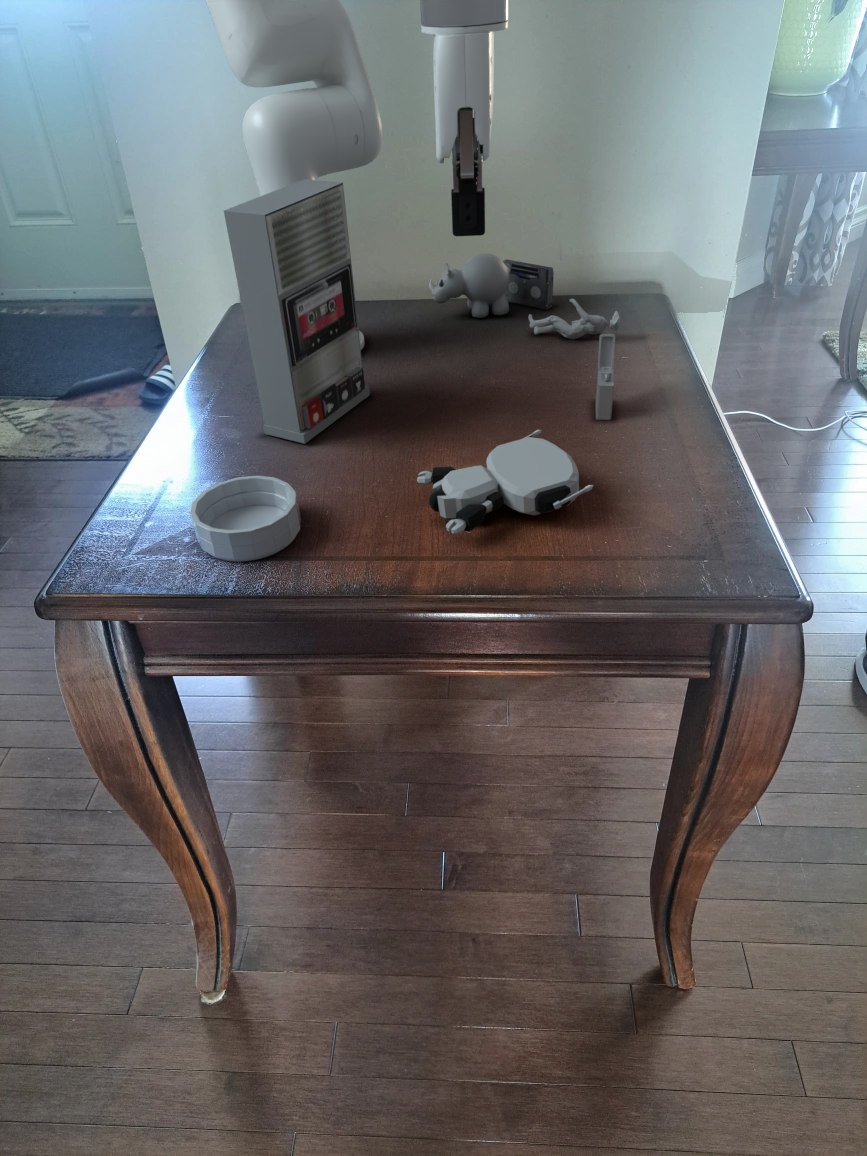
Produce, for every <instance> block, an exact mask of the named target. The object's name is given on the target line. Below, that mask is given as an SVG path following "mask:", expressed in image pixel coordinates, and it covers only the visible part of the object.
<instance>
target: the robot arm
mask: <svg viewBox="0 0 867 1156" xmlns="http://www.w3.org/2000/svg"><path fill="white" fill-rule="evenodd" d="M205 3H206V6H207V9H208V12H209V15H210V18H211V19H212V23H213V25H214V28H215V31H216V34H217V36H218V39H219V42H220V44H221V47H222V50H223V53H224V55H225V58H226V60H227V62H228V65H229V67H230V70H231V71H232V73H233V75H234V76H235V78H236V79H237V80H238V81H239V83H241V84H243V85H244V86H247V87H248V88H249V87H250V88H270V87H271V88H272V87H278V86H286V85H293V84H300V83H307V82H313V83H314V84H315V86H316V87H311V88H308V87H306V88H301V89H293V90H288V91H282V92H275V93H272V94H269V95H266V96H263V97H261V98H259V99H258V100H256V101H254V102H253V103H252V104H251V105H250V106H249V107H248V109H247V110H246V111H245V114H244V116H243V120H242V125H241V126H242V127H241V130H242V131H241V132H242V138H243V139H242V140H243V143H244V147H245V151H246V154H247V158H248V160H249V163H250V166H251V170H252V173H253V175H254V178H255V183H256V185H257V189H258V193H259V197H260V196H263V195H265V194H268V193H270V192H273V191H276V190H278V189H281V188H283V187H286V186H289V185H291V184H294V183H296V182H299V181H302V180H304V179H305V180H317V181H319V180H318V179H319V178H321V177H323V176H327V175H330V174H334V173H335V174H336V173H340V172H344V171H349V170H354V169H358V168H362V167H365V166H367V165H369V164H371V163H372V162H373V161H375V160H376V159H377V157H378V156H379V154H380V152H381V149H382V146H383V141H384V139H383V138H384V137H383V136H384V135H383V134H384V133H383V132H384V131H383V122H382V118H381V112H380V109H379V105H378V102H377V99H376V96H375V92H374V89H373V86H372V83H371V80H370V76H369V73H368V70H367V67H366V64H365V61H364V58H363V54H362V52H361V47H360V45H359V42H358V39H357V36H356V32H355V30H354V27H353V24H352V21H351V19H350V16H349V14H348V12H347V10H346V8H345V7H344V5H343V4H342V3H341V1H340V0H205ZM419 7H420V8H419V9H420V32H421V33H422V34H425V35H433V55H432V56H433V57H432V58H433V59H432V60H433V61H432V62H433V63H432V64H433V100H434V124H435V125H434V126H435V128H434V129H435V157H436V158H435V159H436V161H437V162H439V164H444V162H445V159H450V157H451V158H452V159H451V164H452V186H453V188H451V192H450V194H451V196H450V197H451V199H450V200H451V227H452V228H451V229H452V230H451V231H452V235H453V236H454V237H476V236H477V237H478V236H484V235H485V233H486V192H485V189H486V188H485V187H483V162H485V161H487V160H488V159H489V157H490V153H491V151H490V150H491V144H492V143H491V142H492V131H493V130H492V129H493V117H494V116H493V115H494V92H495V91H494V90H495V89H494V87H495V32H499V31H505V30H508V29H509V0H419ZM359 339H360V349H361V351H362V350H363V349H364V347H365V335H364V333H363V332H362V331H361V330H359Z"/></svg>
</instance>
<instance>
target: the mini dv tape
mask: <svg viewBox="0 0 867 1156" xmlns="http://www.w3.org/2000/svg"><path fill="white" fill-rule="evenodd" d="M502 261H503V262H504V264H505V265H506V266H507V267H508V269H509V271H510V273H509V284H508V288H507V290H506V292H505V296H506V299H507V301H508V303H513V304H517V305H522V306H526V307H530V308H536V309H541V310H545V311H546V310H548V309H551V308H552V307H553V302H554V301H553V300H554V299H553V298H554V274H555V273H554V272H555V271H554V267H553V266H545V265H540V264H534V263H528V262H524V261H519V260H513V259H507V258H506V259H504V260H502Z"/></svg>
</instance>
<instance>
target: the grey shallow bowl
mask: <svg viewBox="0 0 867 1156" xmlns="http://www.w3.org/2000/svg"><path fill="white" fill-rule="evenodd" d="M298 501H299V500H298V495H297V492H296V490H295V489H294V488H293V487H292V486H291V485H290V483H289V482H286V481H285V480H282V479H280V478H278V477H275V476H265V475H247V476H238V477H233V478H231V479H227V480H224V481H220V482H217V483H216V484H214V485H212V486H210V487H208V488H207V489H205V490H203V491H202V492H201V493H200V494H199V495H198V496H197V497H196V498H195V499H194V500H193V501H192V503H191V507H190V512H189V515H190V519H191V523H192V526H193V531H194V533H195V538H196V540H197V542H198V545H199V546H200V548H201V549H202V551H204V552H206V553H207V554H208V555H210V556H212V557H213V558H216V559H219V560H222V561H227V562H249V561H255V560H261V559H263V558H264V559H265V558H267V557H270V556H272V555H274V554H277V553H279V552H280V551H282V550H284V549H285V548H286V547H288V546H289V545H290V544H291V543H292V542H293V541H294V540H295V539H296V537H297V535H298V533H299V532H300V531H301V519H302V518H301V513H300V508H299V507H300V506H299V502H298Z"/></svg>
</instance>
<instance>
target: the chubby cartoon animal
mask: <svg viewBox="0 0 867 1156" xmlns="http://www.w3.org/2000/svg"><path fill="white" fill-rule="evenodd" d="M503 261H504V260H502V259H501V258H500V257H499V256H497V255H494V254H492V253H488V252H487V253H484V252H483V253H478V254H475V255H474V256H472V257H471V258H469V259H468V260H467V261H466V262H465V264H464V266H463V267H462V269H457V268H451V267H450V264H448V263H447V262H444V267H445V269H444V271H443V272H442V273H441V274H440V276H439V281H438V282H437V281H435V284H434V283H433V279H432V278H430V280H429V283H428V288H429V290H430V292H431V298H432V300H433V301H434V302H435V303H437V304H445V303H446V302H448V301H449V300H450V299H458V298H460V297H461V296H465V297H466V298H467V300H466V301H467V308H468V309H469V310H471V316H472V317H473V318H477V319H482V318H483V319H484V318H486V317H488V316H489V314H490V309H491V313H492V314H493V315H494V316H505V315H506V314H508V313H509V312H510V305H509V304H510V303H509V302H508V301H507V299H506V296H505V292H506V290H507V288H508V284H509V273H510V271H509V269H508V267H507V266H506V265H505V264H504V262H503Z"/></svg>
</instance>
